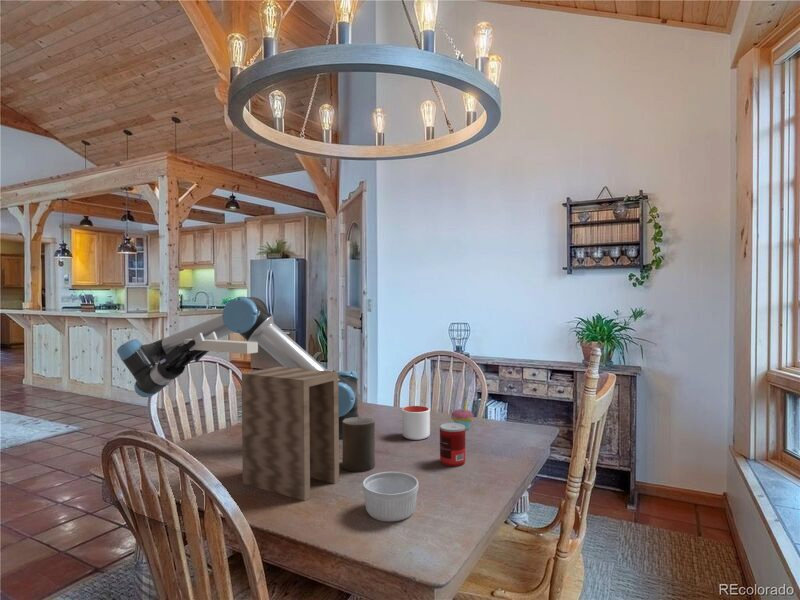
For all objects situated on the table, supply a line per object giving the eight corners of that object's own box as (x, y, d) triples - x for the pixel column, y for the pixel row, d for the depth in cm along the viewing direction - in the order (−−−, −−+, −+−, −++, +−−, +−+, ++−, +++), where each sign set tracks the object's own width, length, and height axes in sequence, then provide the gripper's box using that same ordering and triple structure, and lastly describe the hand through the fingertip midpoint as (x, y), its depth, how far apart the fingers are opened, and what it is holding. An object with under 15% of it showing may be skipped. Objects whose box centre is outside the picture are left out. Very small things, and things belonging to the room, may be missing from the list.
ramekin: (422, 523, 104) (421, 492, 104) (362, 526, 103) (362, 495, 103) (415, 498, 117) (415, 470, 117) (362, 500, 116) (362, 472, 116)
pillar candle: (366, 474, 133) (367, 421, 133) (336, 469, 136) (336, 418, 136) (380, 462, 142) (380, 413, 142) (351, 459, 145) (351, 411, 145)
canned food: (467, 459, 144) (467, 423, 144) (462, 468, 137) (462, 430, 137) (443, 456, 147) (443, 421, 147) (437, 465, 139) (436, 428, 139)
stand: (242, 483, 127) (241, 373, 126) (279, 467, 139) (278, 366, 138) (304, 500, 116) (303, 380, 115) (339, 481, 128) (338, 372, 128)
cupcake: (477, 427, 179) (476, 396, 179) (468, 432, 172) (467, 400, 172) (456, 424, 184) (456, 393, 184) (447, 429, 177) (446, 397, 177)
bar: (184, 349, 146) (184, 339, 146) (195, 347, 150) (195, 338, 150) (247, 353, 132) (247, 343, 132) (257, 352, 136) (257, 342, 136)
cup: (427, 441, 162) (427, 412, 162) (399, 440, 164) (399, 411, 164) (431, 433, 172) (431, 406, 172) (405, 431, 174) (404, 405, 174)
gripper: (194, 375, 160) (235, 344, 150) (146, 384, 145) (188, 349, 135) (187, 356, 162) (227, 323, 152) (139, 362, 147) (179, 327, 137)
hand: (208, 336), depth 143 cm, fingers closed on bar, 4 cm apart
